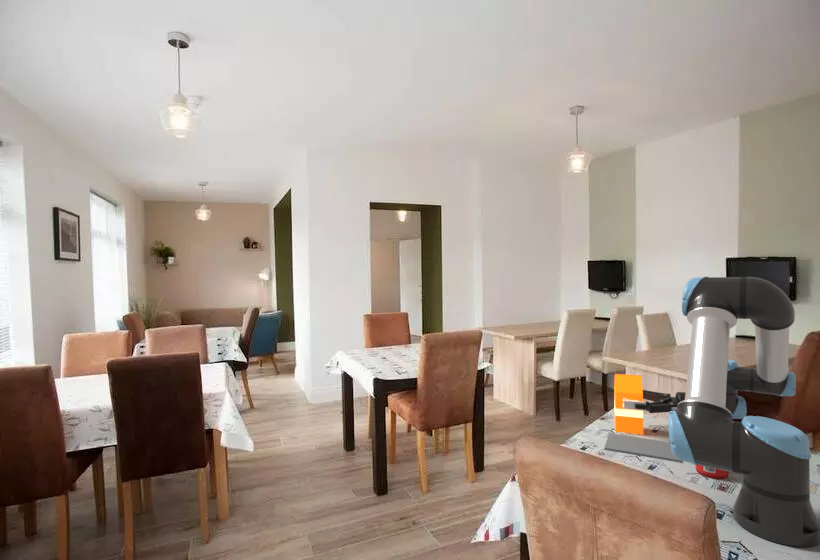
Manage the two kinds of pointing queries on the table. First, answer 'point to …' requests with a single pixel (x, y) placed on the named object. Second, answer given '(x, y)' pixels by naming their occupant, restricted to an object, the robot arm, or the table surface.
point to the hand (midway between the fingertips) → (621, 398)
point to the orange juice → (629, 391)
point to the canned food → (711, 472)
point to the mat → (640, 447)
